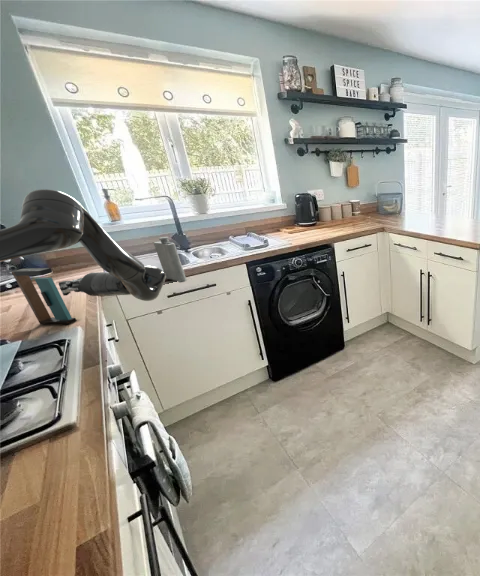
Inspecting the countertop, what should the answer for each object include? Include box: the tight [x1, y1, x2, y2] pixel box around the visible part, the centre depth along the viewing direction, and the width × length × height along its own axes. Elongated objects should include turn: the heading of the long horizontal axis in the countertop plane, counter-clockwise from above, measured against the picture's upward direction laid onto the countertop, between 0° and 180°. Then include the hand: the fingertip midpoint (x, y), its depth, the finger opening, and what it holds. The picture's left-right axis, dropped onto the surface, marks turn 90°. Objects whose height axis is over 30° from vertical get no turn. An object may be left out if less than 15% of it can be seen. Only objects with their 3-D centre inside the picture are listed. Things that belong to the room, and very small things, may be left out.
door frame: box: [10, 267, 77, 326], centre depth 104 cm, size 3×12×20 cm, turn 80°
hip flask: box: [153, 236, 188, 283], centre depth 142 cm, size 16×4×20 cm, turn 57°
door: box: [34, 277, 73, 320], centre depth 104 cm, size 3×6×15 cm, turn 80°
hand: (62, 284), depth 101 cm, fingers closed
